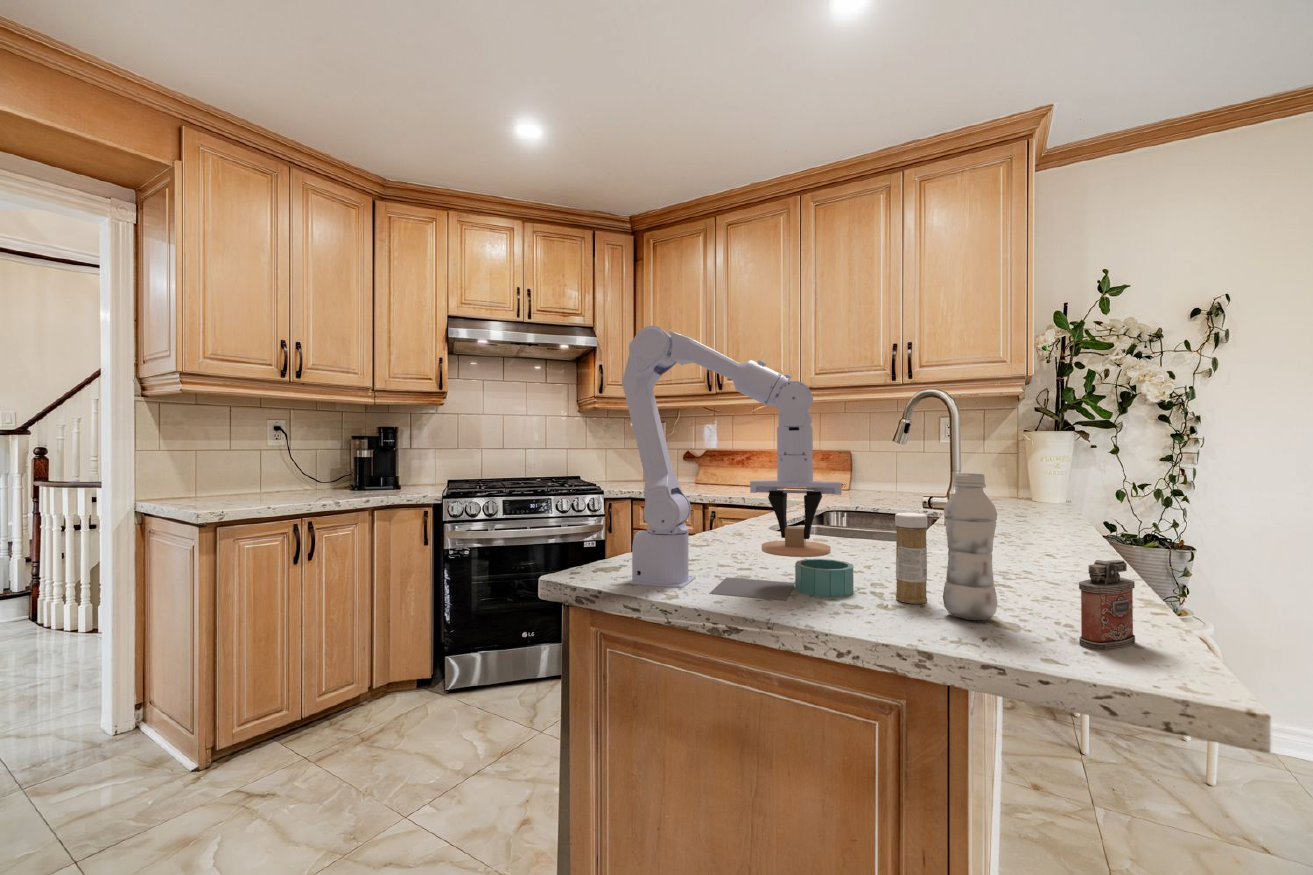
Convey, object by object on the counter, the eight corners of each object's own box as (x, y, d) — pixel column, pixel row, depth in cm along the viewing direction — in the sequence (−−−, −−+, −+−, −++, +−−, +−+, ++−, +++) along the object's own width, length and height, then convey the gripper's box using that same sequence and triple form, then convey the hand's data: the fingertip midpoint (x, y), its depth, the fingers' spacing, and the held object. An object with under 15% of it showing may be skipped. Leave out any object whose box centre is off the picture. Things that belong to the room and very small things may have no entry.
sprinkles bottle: (904, 595, 93) (904, 511, 93) (933, 601, 89) (932, 513, 89) (889, 600, 90) (889, 513, 90) (918, 606, 86) (918, 516, 86)
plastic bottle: (952, 608, 85) (951, 472, 86) (1004, 618, 80) (1003, 474, 81) (935, 617, 81) (934, 473, 81) (989, 628, 76) (988, 475, 76)
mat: (709, 595, 92) (709, 593, 92) (726, 579, 104) (726, 577, 104) (785, 602, 88) (785, 600, 88) (795, 585, 99) (795, 582, 99)
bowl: (792, 596, 92) (792, 567, 92) (799, 583, 101) (799, 557, 101) (852, 601, 89) (852, 572, 89) (854, 587, 98) (853, 561, 98)
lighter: (1102, 652, 67) (1101, 566, 67) (1071, 643, 70) (1071, 560, 70) (1143, 643, 70) (1142, 560, 71) (1111, 635, 74) (1111, 556, 74)
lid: (755, 554, 92) (755, 530, 92) (767, 543, 102) (767, 522, 102) (828, 558, 88) (827, 533, 88) (832, 547, 99) (832, 524, 99)
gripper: (746, 455, 94) (746, 539, 94) (839, 455, 89) (840, 543, 89) (754, 454, 101) (755, 532, 101) (841, 454, 96) (842, 537, 96)
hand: (795, 537), depth 95 cm, fingers closed on lid, 3 cm apart
